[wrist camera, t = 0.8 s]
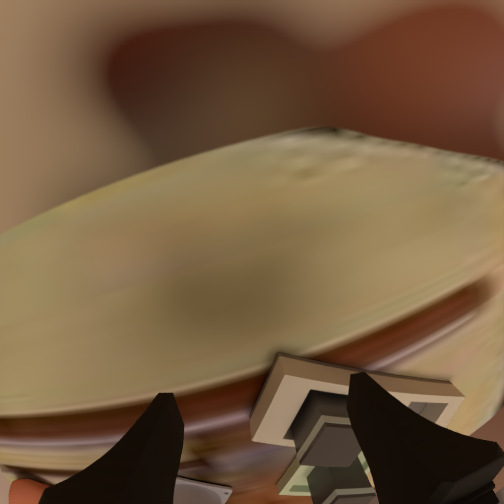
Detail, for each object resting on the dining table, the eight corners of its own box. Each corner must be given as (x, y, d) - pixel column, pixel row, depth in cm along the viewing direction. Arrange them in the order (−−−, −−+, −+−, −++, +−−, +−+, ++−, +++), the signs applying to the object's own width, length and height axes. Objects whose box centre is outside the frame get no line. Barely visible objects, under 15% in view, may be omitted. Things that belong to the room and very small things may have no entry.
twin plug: (329, 421, 24) (349, 467, 18) (286, 415, 24) (298, 465, 18) (351, 384, 23) (377, 429, 18) (306, 376, 23) (325, 425, 17)
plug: (339, 478, 26) (353, 517, 20) (305, 478, 26) (316, 519, 20) (358, 455, 26) (376, 495, 20) (323, 454, 25) (338, 498, 19)
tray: (345, 485, 28) (348, 494, 26) (276, 484, 26) (278, 494, 25) (384, 437, 26) (389, 447, 25) (311, 433, 25) (315, 444, 23)
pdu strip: (417, 431, 26) (429, 448, 23) (249, 416, 24) (251, 440, 21) (449, 381, 25) (465, 396, 22) (278, 351, 23) (284, 374, 20)
